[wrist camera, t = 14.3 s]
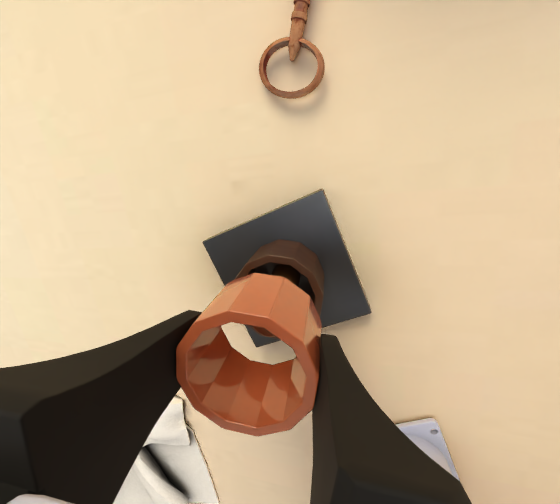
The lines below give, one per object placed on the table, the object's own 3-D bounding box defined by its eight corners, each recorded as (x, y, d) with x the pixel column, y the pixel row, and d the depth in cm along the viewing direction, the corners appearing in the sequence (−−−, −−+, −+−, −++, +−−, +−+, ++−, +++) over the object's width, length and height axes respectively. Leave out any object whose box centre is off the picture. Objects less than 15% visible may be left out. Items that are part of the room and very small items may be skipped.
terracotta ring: (336, 355, 13) (339, 420, 10) (241, 380, 15) (215, 445, 11) (293, 257, 12) (280, 292, 9) (195, 295, 14) (150, 337, 10)
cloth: (195, 376, 25) (181, 397, 22) (227, 543, 31) (219, 573, 28) (7, 366, 28) (-21, 384, 26) (69, 518, 34) (50, 543, 32)
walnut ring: (334, 297, 19) (336, 324, 16) (267, 319, 21) (255, 349, 17) (305, 228, 18) (300, 241, 15) (236, 256, 20) (217, 274, 16)
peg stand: (369, 305, 20) (389, 371, 14) (259, 338, 23) (231, 409, 16) (322, 188, 18) (319, 199, 12) (208, 238, 21) (153, 270, 14)
